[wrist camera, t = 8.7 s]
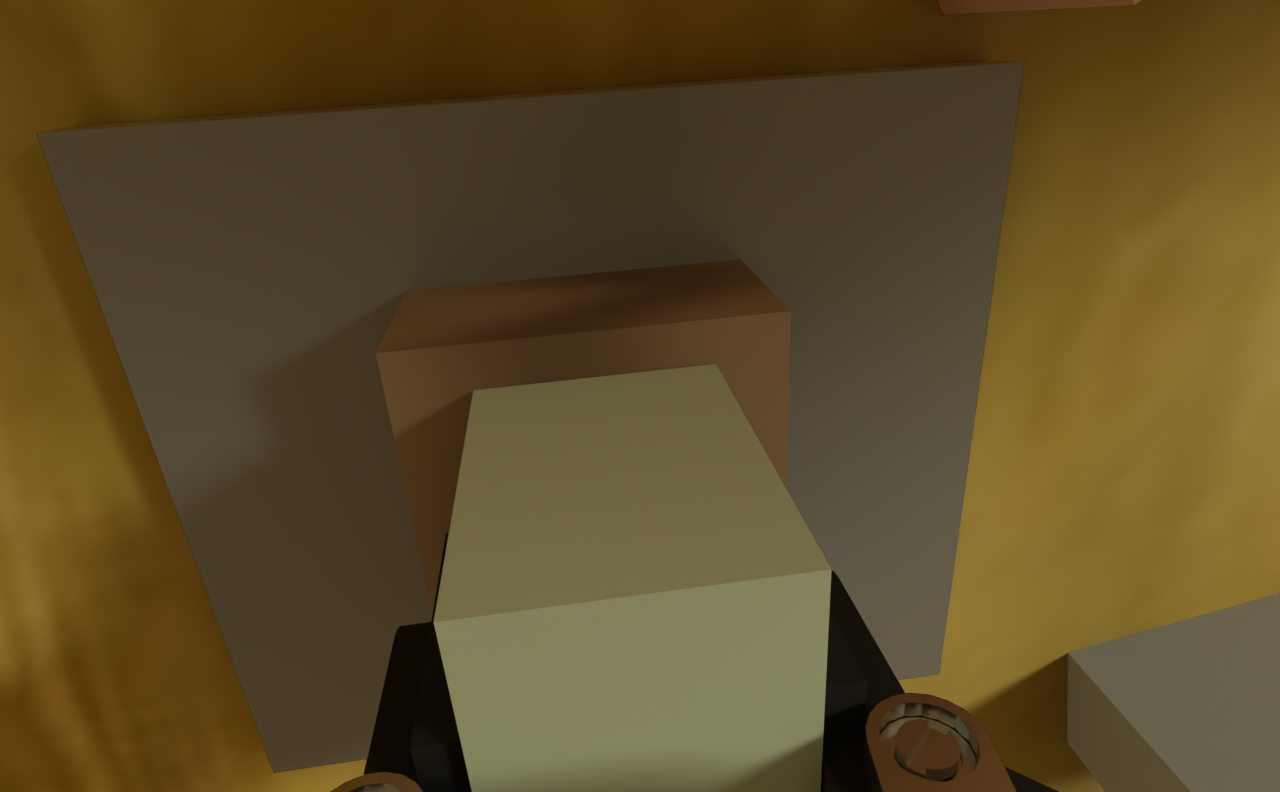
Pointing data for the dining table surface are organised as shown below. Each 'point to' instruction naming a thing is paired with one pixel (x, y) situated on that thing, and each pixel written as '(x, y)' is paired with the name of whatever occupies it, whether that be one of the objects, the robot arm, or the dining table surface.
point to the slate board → (518, 250)
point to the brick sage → (630, 594)
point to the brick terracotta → (1023, 5)
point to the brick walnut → (570, 359)
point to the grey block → (1182, 704)
